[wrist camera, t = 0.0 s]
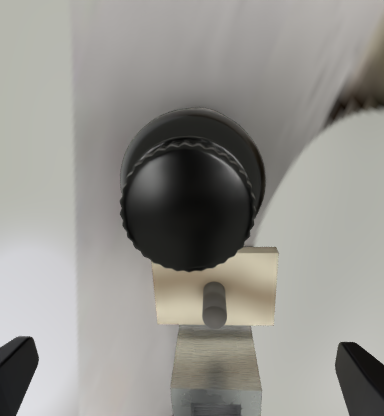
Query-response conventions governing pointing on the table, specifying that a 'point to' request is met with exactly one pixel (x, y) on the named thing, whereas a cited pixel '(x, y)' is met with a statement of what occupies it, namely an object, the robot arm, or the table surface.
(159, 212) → the supplement bottle
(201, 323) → the shaft plate
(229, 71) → the table surface
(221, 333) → the hollow square tube
